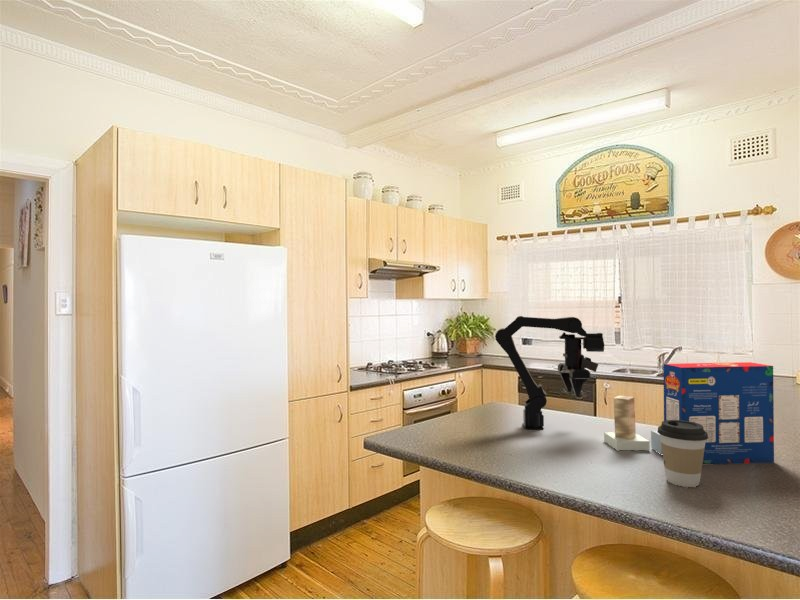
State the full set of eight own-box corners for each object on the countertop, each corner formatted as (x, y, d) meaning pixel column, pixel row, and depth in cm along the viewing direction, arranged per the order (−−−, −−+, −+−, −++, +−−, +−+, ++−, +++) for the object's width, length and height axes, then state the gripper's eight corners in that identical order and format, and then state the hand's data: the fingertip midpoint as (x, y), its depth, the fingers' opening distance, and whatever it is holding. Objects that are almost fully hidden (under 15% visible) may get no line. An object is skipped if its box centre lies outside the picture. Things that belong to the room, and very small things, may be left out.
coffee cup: (662, 471, 128) (661, 416, 128) (711, 480, 121) (711, 423, 121) (653, 483, 120) (652, 425, 120) (705, 495, 112) (705, 432, 112)
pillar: (615, 436, 150) (613, 397, 151) (621, 433, 154) (619, 395, 155) (629, 439, 147) (628, 399, 148) (635, 435, 151) (634, 396, 152)
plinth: (617, 452, 146) (617, 441, 146) (604, 442, 156) (604, 432, 156) (649, 452, 145) (649, 441, 145) (634, 442, 155) (634, 432, 155)
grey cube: (661, 455, 141) (661, 435, 141) (651, 449, 147) (651, 430, 147) (681, 455, 141) (681, 436, 141) (670, 449, 147) (670, 430, 147)
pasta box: (751, 453, 143) (750, 362, 143) (774, 462, 135) (773, 365, 135) (664, 456, 141) (663, 363, 141) (682, 465, 133) (681, 367, 133)
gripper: (605, 354, 160) (606, 399, 160) (586, 348, 179) (586, 389, 179) (572, 354, 161) (573, 399, 161) (557, 348, 179) (557, 389, 179)
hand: (573, 394), depth 170 cm, fingers open, 9 cm apart
